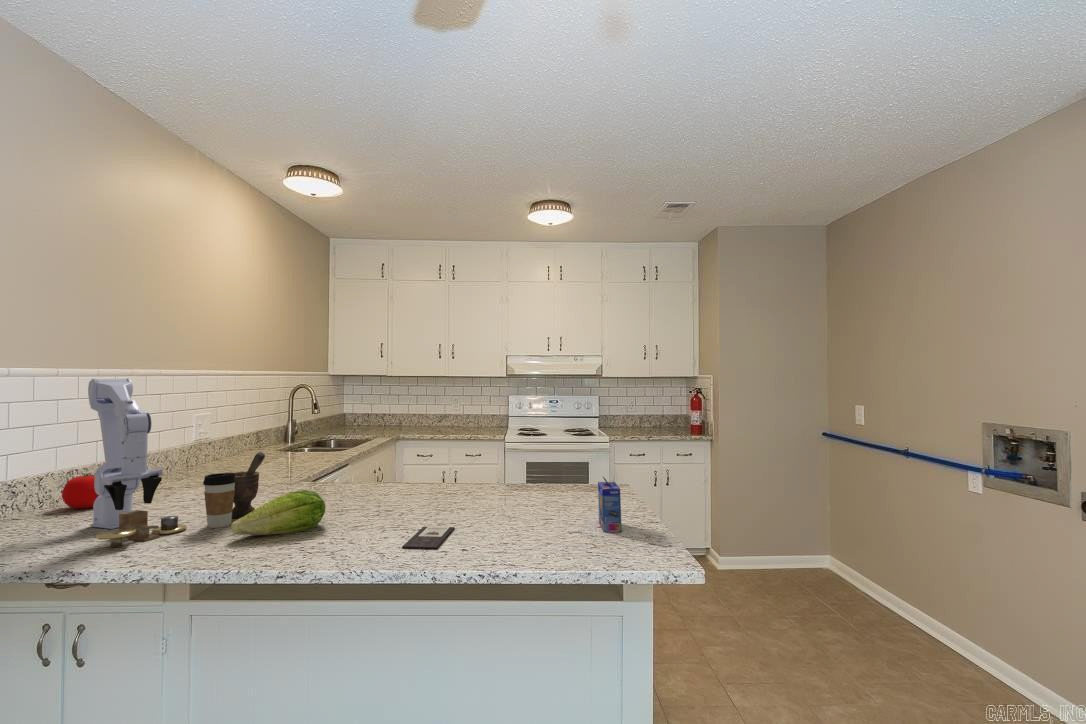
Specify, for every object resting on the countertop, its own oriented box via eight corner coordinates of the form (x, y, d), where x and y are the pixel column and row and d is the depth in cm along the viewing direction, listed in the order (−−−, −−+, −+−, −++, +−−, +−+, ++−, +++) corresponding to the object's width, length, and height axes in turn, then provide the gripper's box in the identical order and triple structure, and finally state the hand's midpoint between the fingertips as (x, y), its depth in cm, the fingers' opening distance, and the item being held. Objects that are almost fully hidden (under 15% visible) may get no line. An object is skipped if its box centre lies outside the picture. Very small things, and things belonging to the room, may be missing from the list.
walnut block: (118, 535, 147) (119, 513, 147) (135, 531, 151) (136, 509, 151) (130, 537, 145) (130, 515, 145) (147, 532, 150) (147, 511, 150)
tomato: (51, 511, 173) (52, 477, 173) (92, 501, 186) (92, 469, 186) (82, 512, 171) (83, 478, 171) (121, 503, 184) (122, 470, 184)
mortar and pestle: (273, 511, 172) (273, 449, 173) (260, 518, 164) (261, 453, 164) (235, 512, 171) (236, 449, 172) (221, 519, 163) (222, 453, 163)
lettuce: (220, 517, 147) (231, 495, 140) (309, 496, 165) (323, 477, 158) (231, 558, 142) (243, 538, 135) (321, 532, 160) (336, 514, 153)
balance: (88, 549, 135) (88, 533, 135) (172, 526, 156) (172, 512, 156) (110, 552, 132) (110, 536, 132) (193, 528, 153) (193, 514, 153)
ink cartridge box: (597, 522, 159) (597, 473, 159) (615, 522, 159) (615, 473, 160) (602, 532, 149) (602, 480, 150) (622, 532, 149) (621, 480, 150)
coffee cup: (220, 529, 152) (221, 476, 152) (195, 528, 153) (195, 475, 154) (242, 522, 160) (243, 471, 160) (218, 520, 162) (219, 470, 162)
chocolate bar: (402, 546, 136) (423, 526, 153) (402, 550, 135) (423, 529, 153) (436, 547, 135) (454, 527, 153) (436, 551, 135) (454, 530, 153)
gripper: (116, 461, 140) (115, 513, 140) (170, 454, 154) (169, 501, 154) (98, 460, 143) (97, 511, 142) (152, 453, 156) (152, 499, 156)
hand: (133, 506), depth 148 cm, fingers open, 7 cm apart
